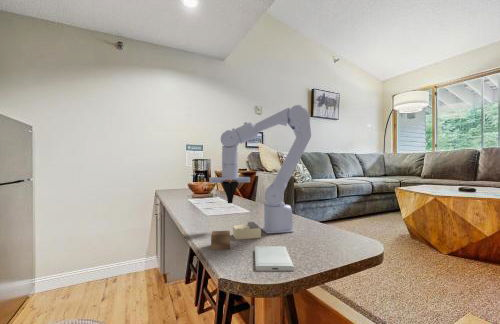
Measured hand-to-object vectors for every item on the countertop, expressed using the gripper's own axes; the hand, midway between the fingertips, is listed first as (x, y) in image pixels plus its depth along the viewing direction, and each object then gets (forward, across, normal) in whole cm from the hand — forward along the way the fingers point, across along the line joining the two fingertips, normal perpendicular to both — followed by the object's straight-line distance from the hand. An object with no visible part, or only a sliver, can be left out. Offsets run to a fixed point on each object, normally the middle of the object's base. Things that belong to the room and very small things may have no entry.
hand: (229, 203), depth 83 cm
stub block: (+10, +5, +18) cm, 21 cm away
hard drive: (+10, -6, +30) cm, 32 cm away
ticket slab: (+9, -4, +10) cm, 14 cm away
